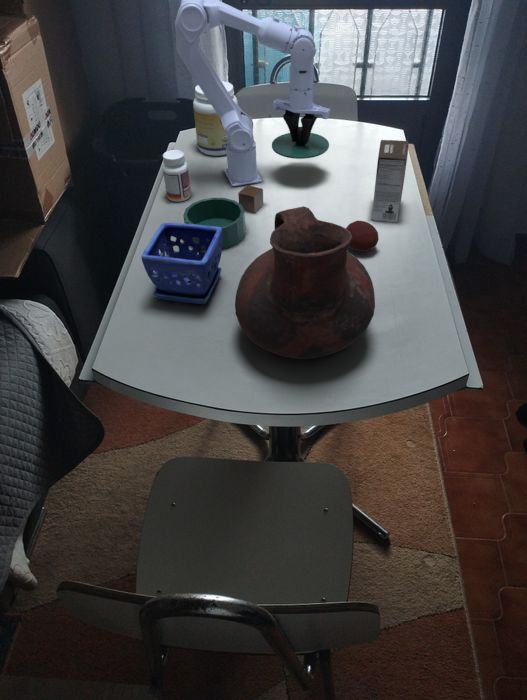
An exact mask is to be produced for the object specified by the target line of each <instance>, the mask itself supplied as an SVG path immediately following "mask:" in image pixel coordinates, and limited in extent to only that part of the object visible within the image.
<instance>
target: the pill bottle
mask: <svg viewBox="0 0 527 700" xmlns="http://www.w3.org/2000/svg"><path fill="white" fill-rule="evenodd" d="M162 160H163V165H162V173H163V179H164V185H165V192H166V197H167V198H168V200H170V201H171V202H174V203H175V202H185V201H187V200H188V199H190V198H191V196H192V189H191V180H190V173H189V166H188V163H187V162H186V161H185V160H186V158H185V152H183V151H182V150H180V149H170V150H167V151H165V152H164V153H162Z"/></svg>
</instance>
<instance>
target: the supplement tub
mask: <svg viewBox="0 0 527 700" xmlns="http://www.w3.org/2000/svg"><path fill="white" fill-rule="evenodd" d="M221 82H222V83H223V85H224V86H225V88H226V90H227V91H228V93H229V94H230V96H231V98H232V99H233V101H234V102H235V104H237V105H238V104H239V103H238V98H237V97H236V95H235V90H234V85H233V84H232V83H231V82H228V81H225V80H221ZM194 96H195V97H194V99H193V102H192V107H193V116H194V125H195V126H194V127H195V135H196V143H197V144H196V145H197V149H198V150H199V151H200V152H201V153H203V154H205V155H207V156H215V157H217V156H218V157H219V156H225V155H226V156H227V152H226V148H227V144H228V135H227V133H226V132H225V130H224V128H223V125H222V122H221V119H220V117H219V116H218V114H217V113H216V111H215V110H214V108H213V107H212V105H211V103H210V102H209V100H208V99H207V97H206V96H205V94H204V93H203V91H202V90H201V88H200V87H199V85H198V84H197V85H196V86H195V88H194ZM238 106H239V105H238Z"/></svg>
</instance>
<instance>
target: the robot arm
mask: <svg viewBox="0 0 527 700" xmlns="http://www.w3.org/2000/svg"><path fill="white" fill-rule="evenodd" d="M207 24H208V29H209V30H210V29H214V28H216V27H219V26H221V25H224V26H227V27H230V28H233V29H235V30H239V31H240V32H245V33H247V34H251V35H253V36H255V37H256V38H257V41H258V44H260V45H262V46H265V47H266V48H269V49H272V50H275V51H277V52H280V53H282V54H285V55H289V56H290V64H289V84H288V85H289V89H288V90H289V91H288V92H289V93H288V94H289V99H278V98H276V99H275V100H274V101H272V110H274V111H278V110H279V111H285V112H284V114H283V115H282V118H283V121H284V122H285V124H286V125H287V128H288V131H289V133H290V134H291V138H292V142H295V141H296V128H297V127H300V122H301V127H302V131H303V136H302V142H303V144H306V143H308V141H309V137H310V133H312V129H313V127H314V125H315V123H316V121H317V119H318V118H322V120H327V119H329V118H330V116H331V108H328V107H324V106H321V105H319V104H317V103H314V81H315V80H314V79H315V77H314V76H315V65H314V62H315V56H316V54H317V48H316V43H315V39H314V36H313V34H312V33H311V31H310V30H309V29H307V28H305V27H304V26H300V27H299V26H298V25H296V24H295V25H294V26H293V25H290V24H288V23H285V22H283V21H280V17H279V16H276V15H273V17H271V16H266V17H264V18H262V19H259V18H257V17H255V16H253V15H251V14H249V13H246V12H244V11H242V10H240V9H238V8H236V7H234V6H232V5H230V4H227V3H225V2H223V1H221V0H180V4H179V8H178V10H177V14H176V18H175V22H174V28H175V49H176V54H177V55H178V56H179V58H180V59H181V61H182V63H183V64H184V66H185V67H186V69H187V70H188V72H189V73H190V75H191V76H192V77H193V79H194V81H195V82H196V84H197V85H199V87H200V88H201V90H202V91H203V93H204V94H205V96H206V97H207V99H208V100H209V102H210V103H211V105H212V107H213V108H214V110H215V111H216V113H217V114H218V116H219V117H220V119H221V122H222V125H223V128H224V130H225V132H226V133H227V135H228V144H227V148H226V152H227V154H226V164H227V168H224V170H223V171H224V173H225V175H226V177H227V180H228V181H229V184H230V185H231V187H239V186H240V187H241V186H247V185H250V184H257V183H261V182H262V181H263V180H262V178H261V176H260V175H259V173H258V166H257V163H258V162H257V142H256V141H255V137H254V121H253V119H252V117H251V116H250V115H249V114H247V113H246V112H244V110H242V108H241V106H240V105H237V104H235V102H234V101H233V99H232V98H231V96H230V94H229V93H228V91H227V90H226V88H225V86H224V85H223V83H222V82H221V81H222V80H221V78H220V77H219V75H218V74H217V72H216V71H215V69H214V68H213V66H212V64H211V62H210V61H209V59H208V58H207V56H206V55H205V53H204V52H203V50H202V48H201V47H200V39H201V35H202V34H203V32H204V30H205V29H206V27H207ZM301 115H304V116H302V117H300V116H301Z"/></svg>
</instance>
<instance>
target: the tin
mask: <svg viewBox="0 0 527 700" xmlns="http://www.w3.org/2000/svg"><path fill="white" fill-rule="evenodd" d="M245 212H246V211H245V210H244V209H243V207H242V205H241V204H239V201H238V202H237V201H236V200H233V199H230V198H225V197H210V198H203V199H200V200H198V201H195V202H193V203H191V204H189V206H187V207H186V208H185V209H184V213H183V224H196V225H206V226H214V227H221V228H222V231H223V245H222V250H225V249H229V248H231V247H234V246H236V245H238V244H239V243H240V242H241V241H243V239H244V238H245V235H246V230H247V229H246V215H245ZM207 240H209V239H207ZM193 241H194V242H196V243H198V242H199V238H198V237H193ZM201 248H202V250H204V251H206V247H205V246H201Z"/></svg>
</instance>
